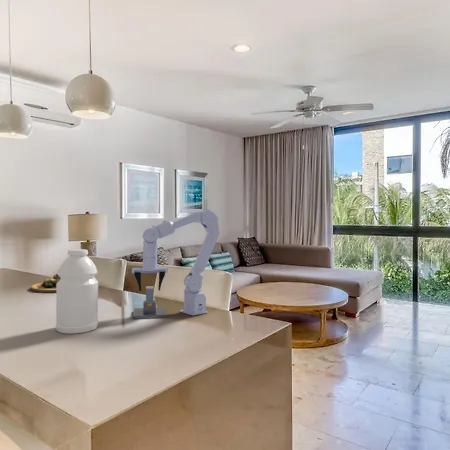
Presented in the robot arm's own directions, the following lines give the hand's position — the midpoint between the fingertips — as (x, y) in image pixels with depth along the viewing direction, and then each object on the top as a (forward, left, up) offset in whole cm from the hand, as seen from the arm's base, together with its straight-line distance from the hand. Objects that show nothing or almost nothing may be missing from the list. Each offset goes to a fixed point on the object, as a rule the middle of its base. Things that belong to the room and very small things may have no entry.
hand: (149, 290), depth 152 cm
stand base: (0, 0, -10) cm, 10 cm away
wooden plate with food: (+87, +8, -11) cm, 88 cm away
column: (0, 0, -5) cm, 5 cm away
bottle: (-2, +30, -10) cm, 32 cm away
